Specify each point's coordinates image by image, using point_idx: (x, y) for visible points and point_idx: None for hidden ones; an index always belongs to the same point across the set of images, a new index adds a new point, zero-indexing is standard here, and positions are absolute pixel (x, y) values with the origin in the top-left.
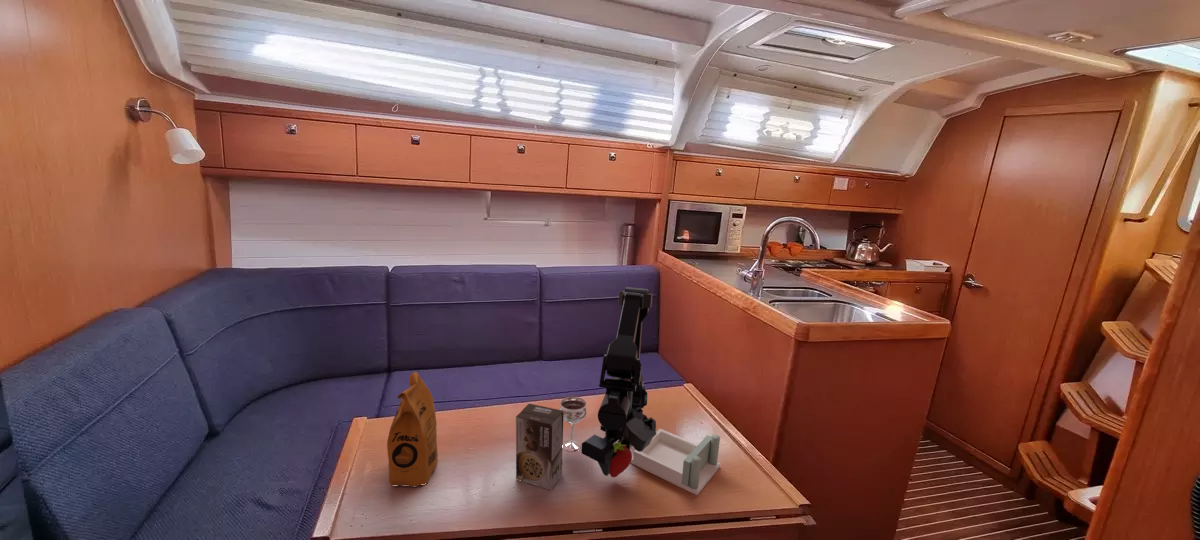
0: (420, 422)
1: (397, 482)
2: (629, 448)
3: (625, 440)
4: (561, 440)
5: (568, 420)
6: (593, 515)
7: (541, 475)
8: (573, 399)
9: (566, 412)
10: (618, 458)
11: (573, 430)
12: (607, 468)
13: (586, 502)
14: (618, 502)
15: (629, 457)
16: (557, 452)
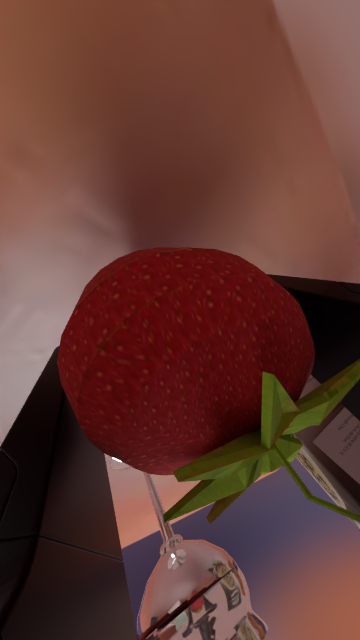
0: None
1: None
2: (27, 434)
3: (82, 549)
4: (341, 462)
5: (228, 557)
6: (314, 164)
7: None
8: None
9: (249, 601)
10: (296, 308)
11: (155, 508)
12: (311, 280)
13: (277, 236)
14: (216, 140)
15: (180, 283)
16: (343, 413)
